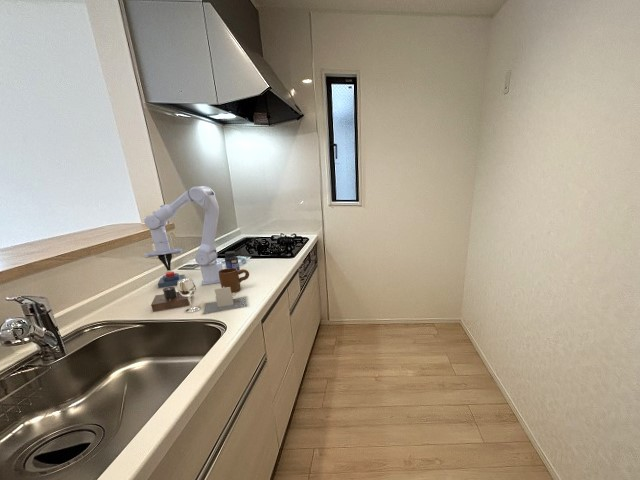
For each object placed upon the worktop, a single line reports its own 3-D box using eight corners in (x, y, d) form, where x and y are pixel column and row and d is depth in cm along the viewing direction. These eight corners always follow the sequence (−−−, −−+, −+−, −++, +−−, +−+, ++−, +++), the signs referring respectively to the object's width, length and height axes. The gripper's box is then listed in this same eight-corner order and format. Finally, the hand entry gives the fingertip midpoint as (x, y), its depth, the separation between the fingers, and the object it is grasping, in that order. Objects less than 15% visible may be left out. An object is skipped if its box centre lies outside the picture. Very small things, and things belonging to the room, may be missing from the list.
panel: (191, 296, 133) (189, 289, 132) (189, 305, 124) (187, 298, 123) (157, 302, 128) (155, 294, 127) (153, 311, 119) (150, 304, 118)
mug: (252, 285, 145) (248, 266, 142) (251, 290, 138) (247, 270, 135) (223, 289, 141) (219, 269, 138) (221, 294, 134) (216, 274, 131)
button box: (185, 278, 156) (183, 270, 155) (184, 284, 148) (181, 276, 146) (161, 281, 152) (159, 274, 150) (158, 288, 143) (156, 280, 142)
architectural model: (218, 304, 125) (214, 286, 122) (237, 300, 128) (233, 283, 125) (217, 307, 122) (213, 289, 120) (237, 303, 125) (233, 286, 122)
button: (175, 274, 151) (174, 271, 150) (174, 276, 148) (173, 272, 147) (166, 275, 149) (165, 272, 149) (165, 277, 146) (164, 274, 146)
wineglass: (188, 307, 123) (180, 278, 118) (203, 306, 123) (196, 277, 119) (180, 313, 117) (172, 283, 113) (196, 312, 118) (188, 282, 113)
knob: (166, 296, 126) (163, 287, 124) (177, 294, 127) (175, 285, 126) (164, 299, 123) (161, 290, 121) (176, 297, 124) (173, 288, 123)
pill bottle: (235, 274, 160) (231, 253, 156) (224, 274, 161) (220, 253, 157) (242, 271, 166) (238, 250, 162) (232, 270, 167) (228, 250, 163)
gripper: (141, 245, 135) (150, 275, 140) (180, 241, 143) (187, 269, 148) (141, 242, 141) (150, 271, 146) (179, 238, 149) (186, 265, 154)
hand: (169, 270), depth 147 cm, fingers closed
